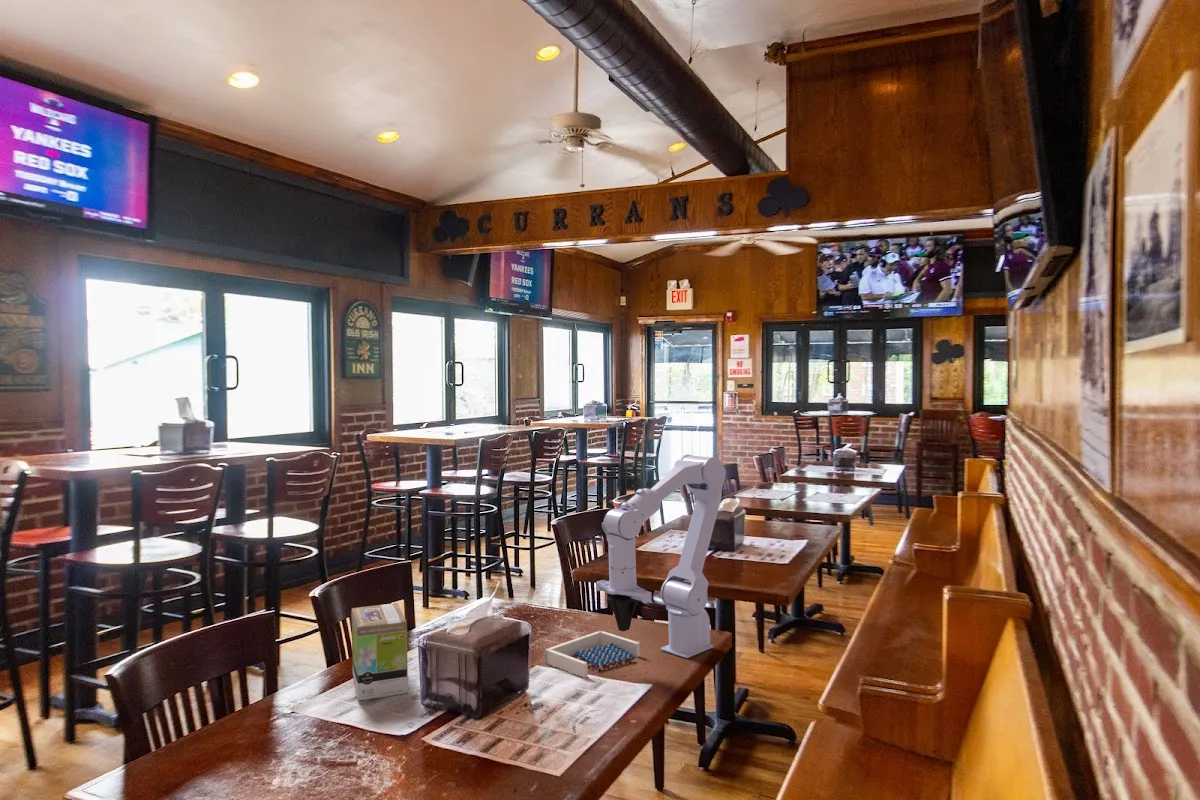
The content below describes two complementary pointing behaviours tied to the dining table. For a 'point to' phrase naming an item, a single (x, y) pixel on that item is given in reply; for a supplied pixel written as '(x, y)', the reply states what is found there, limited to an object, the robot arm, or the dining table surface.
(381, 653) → the tea box
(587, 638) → the frame
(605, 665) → the woven mat
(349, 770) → the dining table surface
